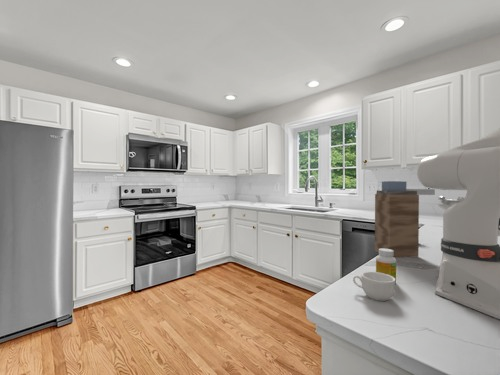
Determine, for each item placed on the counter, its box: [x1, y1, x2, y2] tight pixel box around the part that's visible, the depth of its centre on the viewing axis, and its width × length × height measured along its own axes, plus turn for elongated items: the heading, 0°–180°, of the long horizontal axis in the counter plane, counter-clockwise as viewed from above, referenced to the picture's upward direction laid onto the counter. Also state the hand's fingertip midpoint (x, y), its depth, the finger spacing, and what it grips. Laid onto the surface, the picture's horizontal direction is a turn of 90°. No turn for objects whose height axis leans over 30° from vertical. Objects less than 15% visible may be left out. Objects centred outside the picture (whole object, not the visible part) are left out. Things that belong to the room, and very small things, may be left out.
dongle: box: [381, 180, 436, 196], centre depth 109 cm, size 5×22×6 cm, turn 97°
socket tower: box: [374, 190, 420, 258], centre depth 108 cm, size 10×14×28 cm
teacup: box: [352, 271, 396, 302], centre depth 65 cm, size 10×8×5 cm
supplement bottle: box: [375, 248, 397, 285], centre depth 75 cm, size 5×5×10 cm
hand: (449, 197), depth 111 cm, fingers open, 8 cm apart
